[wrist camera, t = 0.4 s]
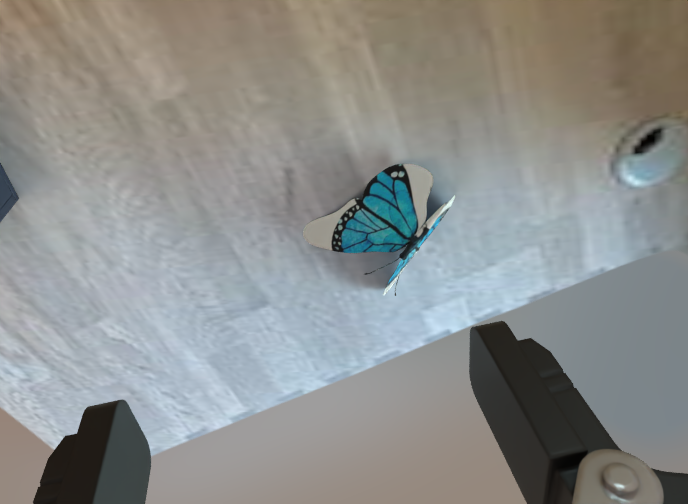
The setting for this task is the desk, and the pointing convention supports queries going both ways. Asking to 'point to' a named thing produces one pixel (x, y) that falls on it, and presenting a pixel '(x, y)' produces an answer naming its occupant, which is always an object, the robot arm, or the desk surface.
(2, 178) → the open box
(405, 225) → the decorative butterfly
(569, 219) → the desk surface
